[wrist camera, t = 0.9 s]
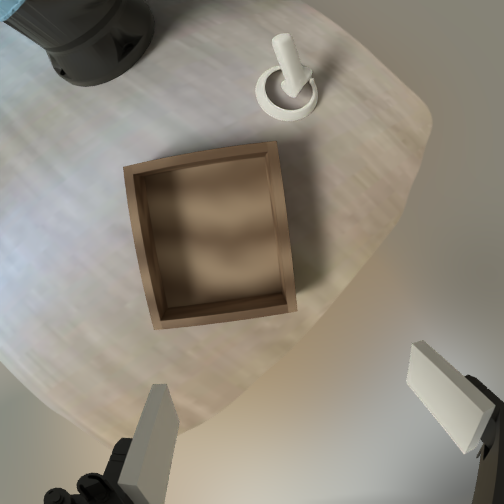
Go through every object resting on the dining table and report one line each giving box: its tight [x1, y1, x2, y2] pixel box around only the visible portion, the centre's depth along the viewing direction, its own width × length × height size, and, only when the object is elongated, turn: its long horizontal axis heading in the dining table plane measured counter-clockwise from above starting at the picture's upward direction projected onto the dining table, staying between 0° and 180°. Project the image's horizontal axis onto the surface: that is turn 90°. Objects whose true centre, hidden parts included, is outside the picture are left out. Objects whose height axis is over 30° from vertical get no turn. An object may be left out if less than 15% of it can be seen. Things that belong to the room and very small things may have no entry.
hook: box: [255, 33, 318, 121], centre depth 29 cm, size 8×12×7 cm
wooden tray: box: [123, 141, 297, 330], centre depth 33 cm, size 18×16×5 cm
